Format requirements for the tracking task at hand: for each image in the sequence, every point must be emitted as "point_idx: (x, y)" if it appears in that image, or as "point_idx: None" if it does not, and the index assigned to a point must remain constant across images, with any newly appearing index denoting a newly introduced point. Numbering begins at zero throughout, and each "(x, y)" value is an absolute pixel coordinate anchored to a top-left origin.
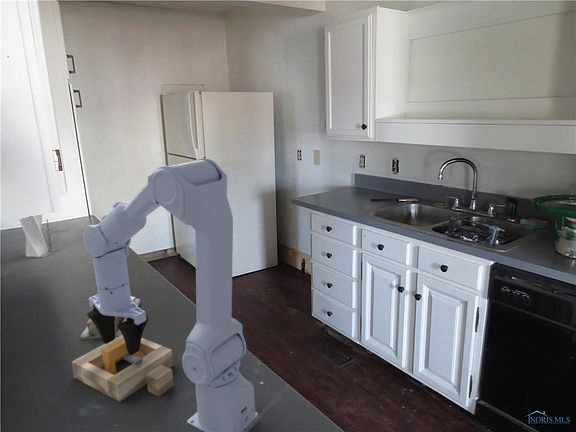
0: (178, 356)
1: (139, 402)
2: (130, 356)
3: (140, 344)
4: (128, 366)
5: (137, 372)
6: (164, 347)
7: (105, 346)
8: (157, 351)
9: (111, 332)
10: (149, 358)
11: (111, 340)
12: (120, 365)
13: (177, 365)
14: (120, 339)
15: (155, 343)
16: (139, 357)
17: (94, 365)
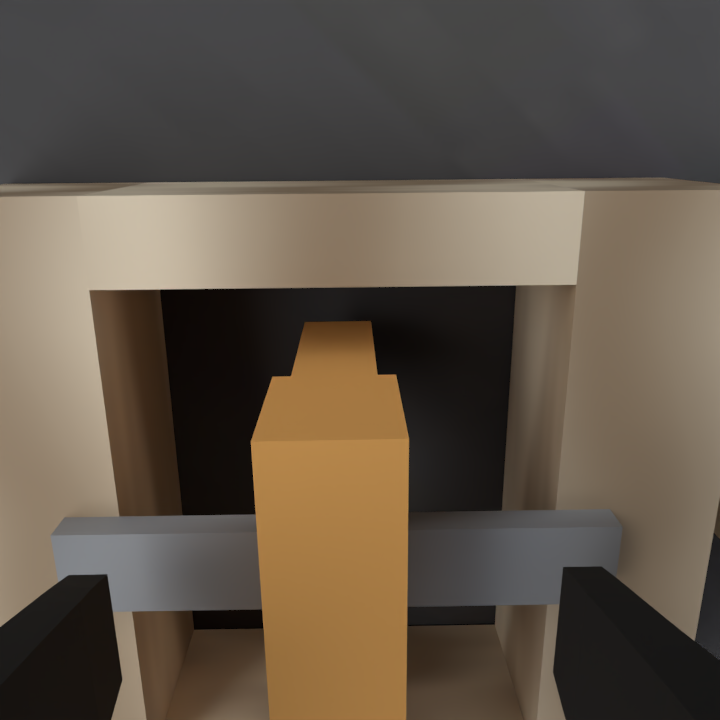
0: (580, 8)
1: (707, 599)
2: (471, 565)
3: (396, 381)
4: (546, 626)
5: (694, 636)
6: (647, 202)
7: (14, 540)
8: (623, 307)
9: (55, 685)
10: (642, 446)
11: (110, 621)
12: (209, 409)
13: (674, 135)
14: (276, 646)
15: (467, 195)
16: (577, 530)
17: (164, 663)
